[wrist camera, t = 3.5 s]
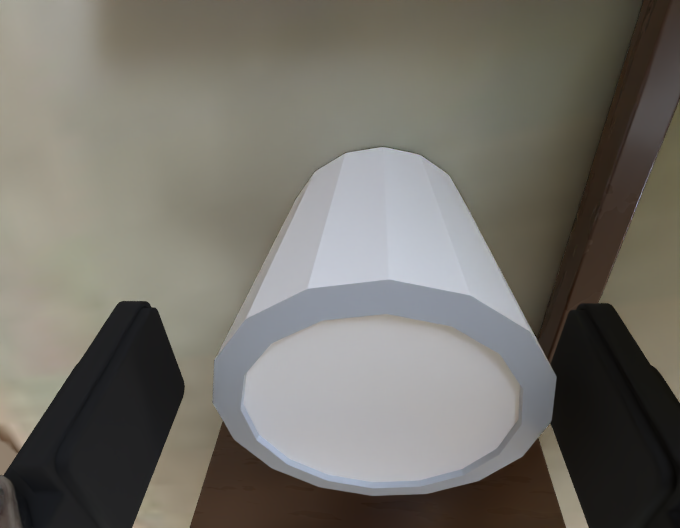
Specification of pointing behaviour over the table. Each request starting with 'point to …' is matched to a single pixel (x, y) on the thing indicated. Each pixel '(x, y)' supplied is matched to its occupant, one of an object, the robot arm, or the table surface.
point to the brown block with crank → (569, 291)
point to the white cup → (382, 339)
